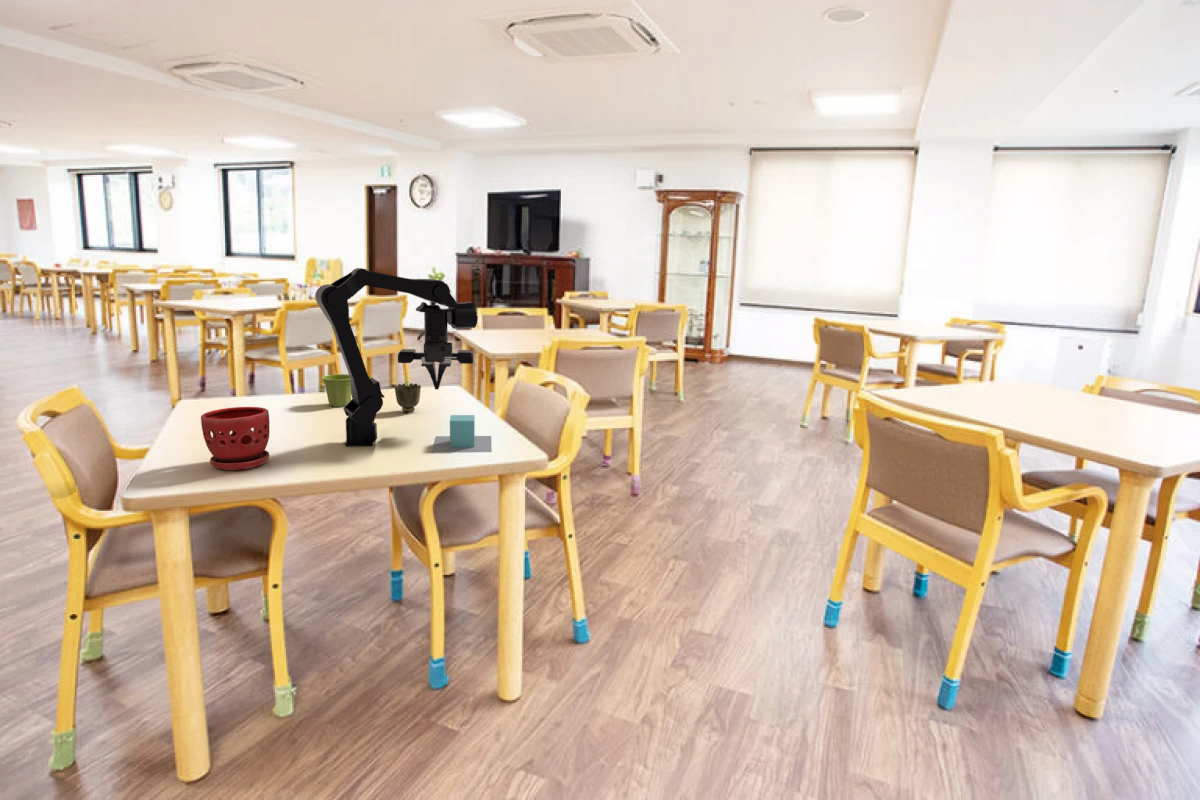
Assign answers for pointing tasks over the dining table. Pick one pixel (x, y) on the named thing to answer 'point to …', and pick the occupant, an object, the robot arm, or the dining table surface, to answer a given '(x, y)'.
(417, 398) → the scalloped urn planter
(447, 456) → the dining table surface
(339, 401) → the plant pot
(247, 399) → the dining table surface
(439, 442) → the base board
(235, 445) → the plant pot
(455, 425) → the teal block
